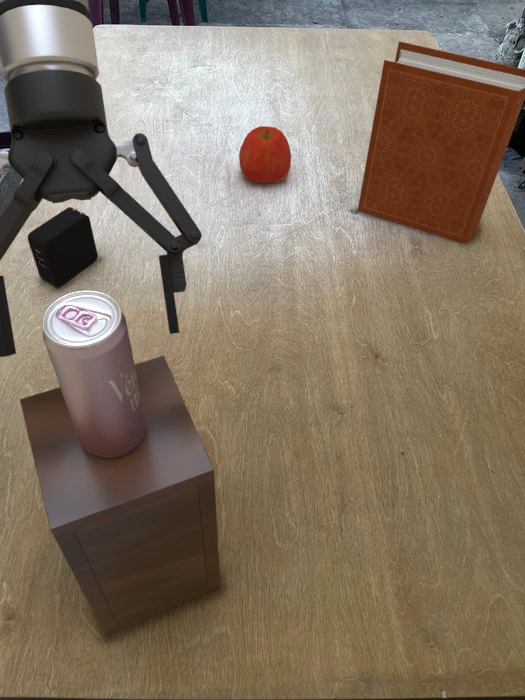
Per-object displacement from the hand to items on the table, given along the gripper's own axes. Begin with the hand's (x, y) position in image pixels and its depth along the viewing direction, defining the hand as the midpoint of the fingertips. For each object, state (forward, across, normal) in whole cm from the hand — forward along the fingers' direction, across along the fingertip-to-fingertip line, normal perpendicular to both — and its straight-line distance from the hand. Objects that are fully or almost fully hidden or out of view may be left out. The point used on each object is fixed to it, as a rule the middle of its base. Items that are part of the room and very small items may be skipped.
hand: (92, 344), depth 52 cm
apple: (-27, -32, -78) cm, 89 cm away
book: (-14, -60, -65) cm, 89 cm away
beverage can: (+8, 0, -3) cm, 9 cm away
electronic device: (-11, +8, -62) cm, 64 cm away
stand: (+28, 0, -23) cm, 36 cm away
